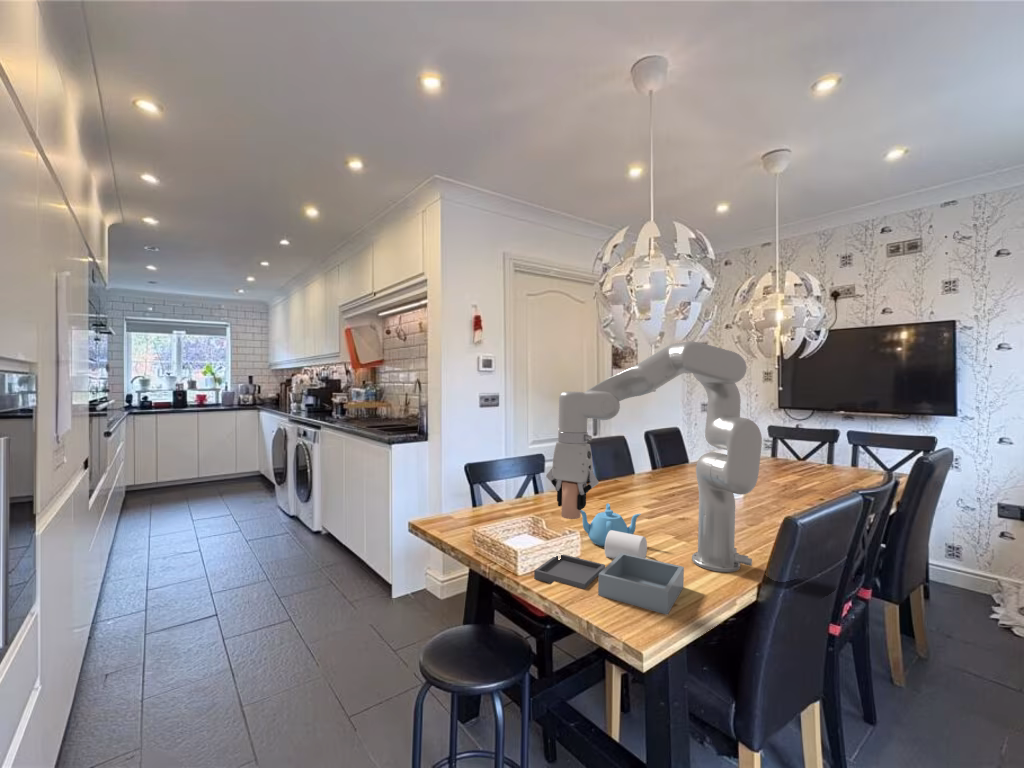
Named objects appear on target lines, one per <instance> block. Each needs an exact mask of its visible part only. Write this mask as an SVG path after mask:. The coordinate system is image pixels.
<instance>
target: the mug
mask: <svg viewBox="0 0 1024 768" xmlns="http://www.w3.org/2000/svg"><path fill="white" fill-rule="evenodd" d="M646 538H647V537H646V536H643V535H637V534H628V533H623V532H618V531H613V530H610V531H609V532H608V534H607V537H606V541H605V547H604V555H605V557H606V558H607V559H613V560H614V559H615V558H616V557H617V556H618V555H619V554H620V553H624V554H629V555H633V556H638V557H642V558H647V552H648V541H647V539H646Z"/></svg>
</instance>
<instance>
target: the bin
mask: <svg viewBox="0 0 1024 768" xmlns="http://www.w3.org/2000/svg"><path fill="white" fill-rule="evenodd" d="M684 573H685V567H684V566H682V565H676V564H672V563H668V562H664V561H659V560H656V559H655V560H654V559H651V558H650V559H649V558H647V557H646V558H642V557H638V556H633V555H629V554H624V553H620V554H619V555H618V556H617V557H616V558H615V559H613V560H612V561H610V563H608V565H606V566H605V568H604V569H603V570H602V571H601V572H600V573H599V576H598V577H597V578H598V580H597V581H598V582H597V585H598V586H597V587H598V588H597V591H598V592H597V596H599V597H603V598H607V599H610V600H614V601H617V602H621V603H624V604H627V605H630V606H631V605H632V606H635V607H637V608H642V609H645V610H648V611H653V612H656V613H660V614H663V615H669V614H670V611H671V610H672V608H673V606H674V604H675V603H676V601H677V599H678V597H679V595H680V593H681V592H682V590H683V589H684V585H685V583H684V578H685V577H684Z"/></svg>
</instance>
